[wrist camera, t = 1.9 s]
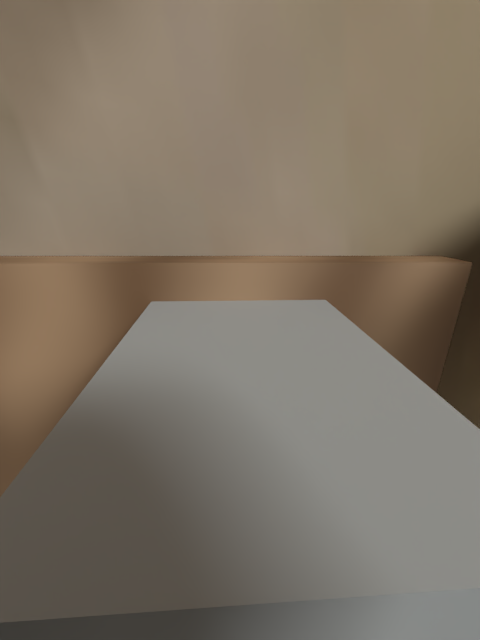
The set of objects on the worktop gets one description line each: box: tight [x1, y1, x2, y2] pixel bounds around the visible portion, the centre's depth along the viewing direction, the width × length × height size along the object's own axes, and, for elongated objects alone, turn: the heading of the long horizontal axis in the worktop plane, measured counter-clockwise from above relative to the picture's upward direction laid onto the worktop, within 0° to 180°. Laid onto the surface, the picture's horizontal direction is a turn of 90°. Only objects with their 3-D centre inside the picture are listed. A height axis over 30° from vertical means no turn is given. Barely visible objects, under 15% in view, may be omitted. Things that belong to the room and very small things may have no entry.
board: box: [0, 256, 473, 497], centre depth 12 cm, size 23×16×3 cm
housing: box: [0, 300, 480, 640], centre depth 7 cm, size 6×6×8 cm
